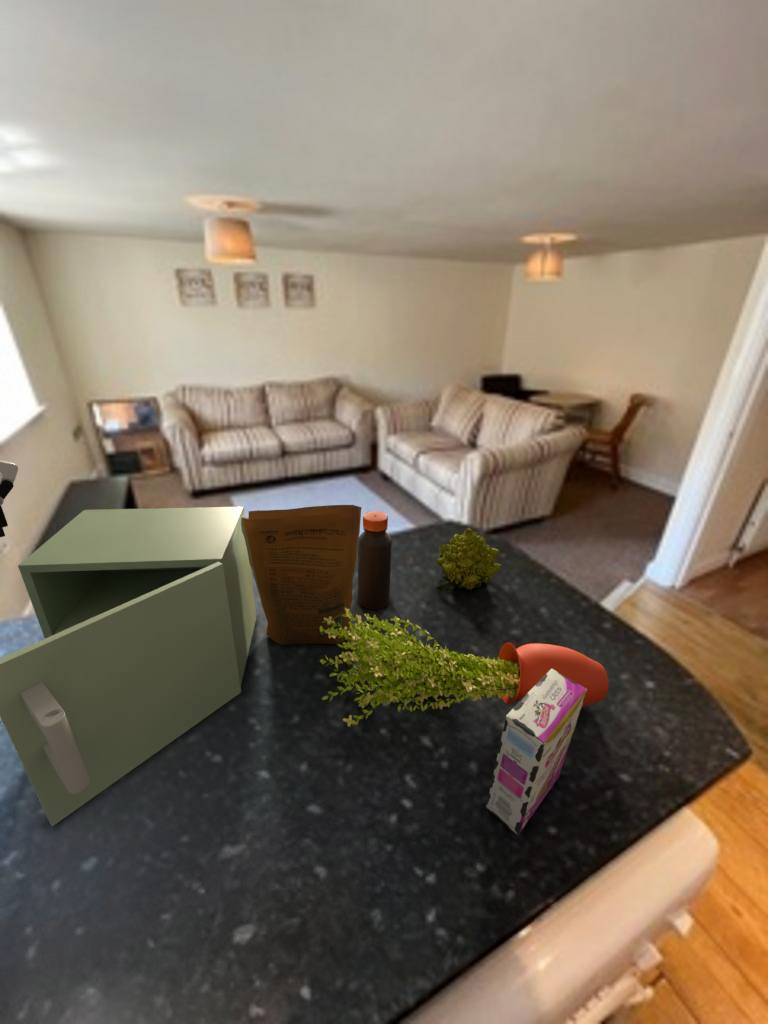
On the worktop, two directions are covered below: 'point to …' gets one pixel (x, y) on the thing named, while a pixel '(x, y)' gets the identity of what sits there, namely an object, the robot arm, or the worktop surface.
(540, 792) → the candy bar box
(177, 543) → the cabinet
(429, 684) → the potted plant
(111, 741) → the door
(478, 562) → the vegetable
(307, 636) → the pancake mix bag
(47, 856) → the worktop surface
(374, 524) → the bottle
